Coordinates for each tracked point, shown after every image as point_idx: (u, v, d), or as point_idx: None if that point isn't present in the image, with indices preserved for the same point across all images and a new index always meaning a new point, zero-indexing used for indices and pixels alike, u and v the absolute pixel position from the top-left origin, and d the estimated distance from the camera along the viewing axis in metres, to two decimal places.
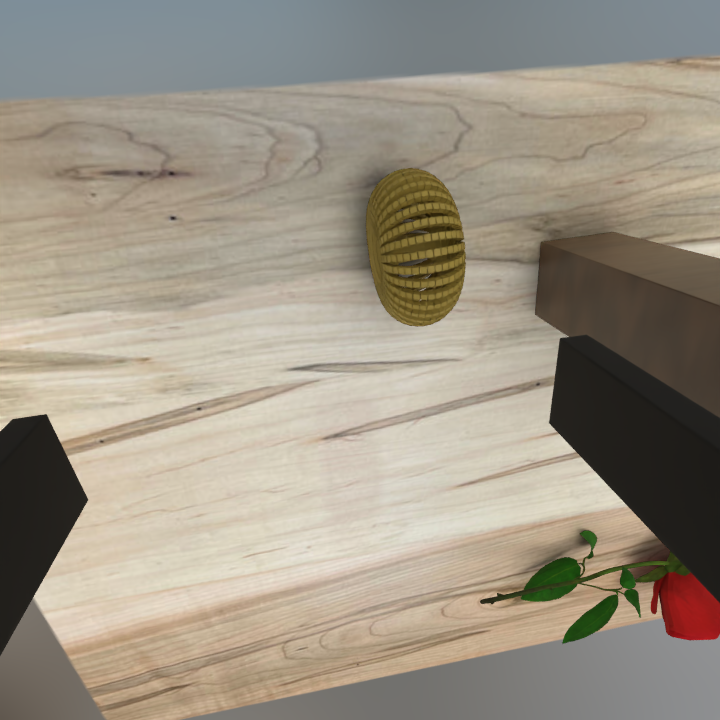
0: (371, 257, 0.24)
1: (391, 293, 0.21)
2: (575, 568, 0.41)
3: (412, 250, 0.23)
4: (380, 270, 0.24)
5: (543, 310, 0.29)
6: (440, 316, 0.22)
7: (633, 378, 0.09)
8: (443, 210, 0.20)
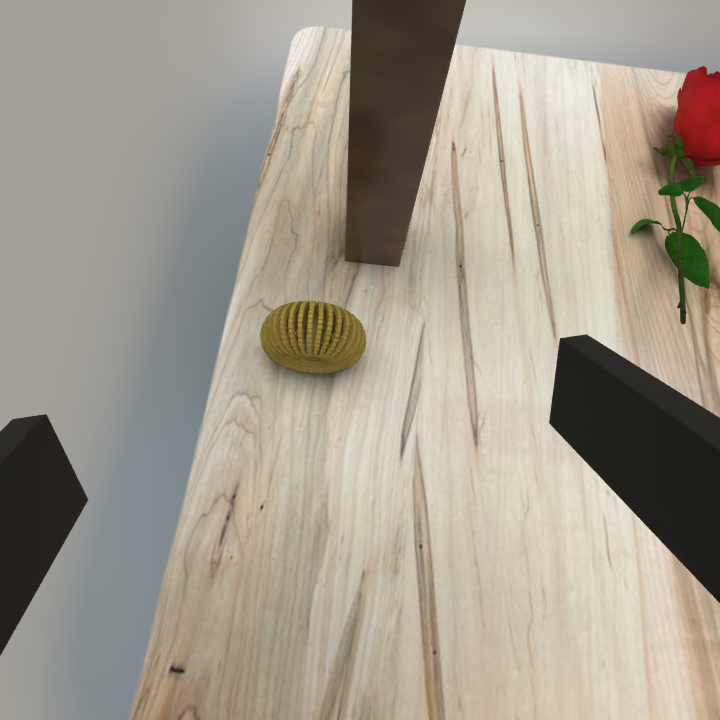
0: (317, 370, 0.34)
1: (327, 351, 0.31)
2: (673, 237, 0.41)
3: (312, 338, 0.33)
4: (323, 363, 0.33)
5: (393, 260, 0.39)
6: (352, 321, 0.31)
7: (633, 378, 0.09)
8: (281, 311, 0.31)
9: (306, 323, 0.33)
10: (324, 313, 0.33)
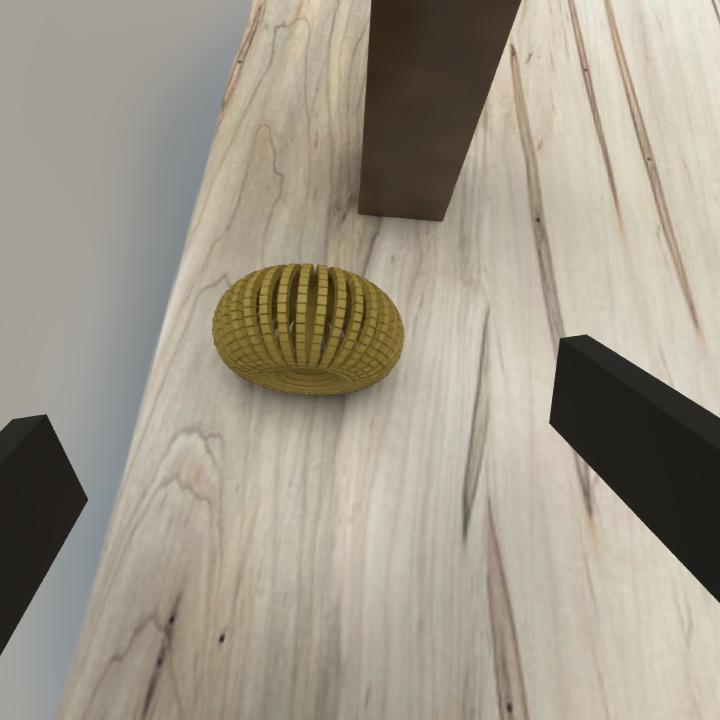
0: (317, 390, 0.20)
1: (337, 358, 0.16)
2: None
3: (307, 334, 0.18)
4: (328, 378, 0.19)
5: (435, 209, 0.25)
6: (382, 301, 0.17)
7: (633, 378, 0.09)
8: (246, 282, 0.16)
9: (296, 308, 0.19)
10: (328, 289, 0.18)
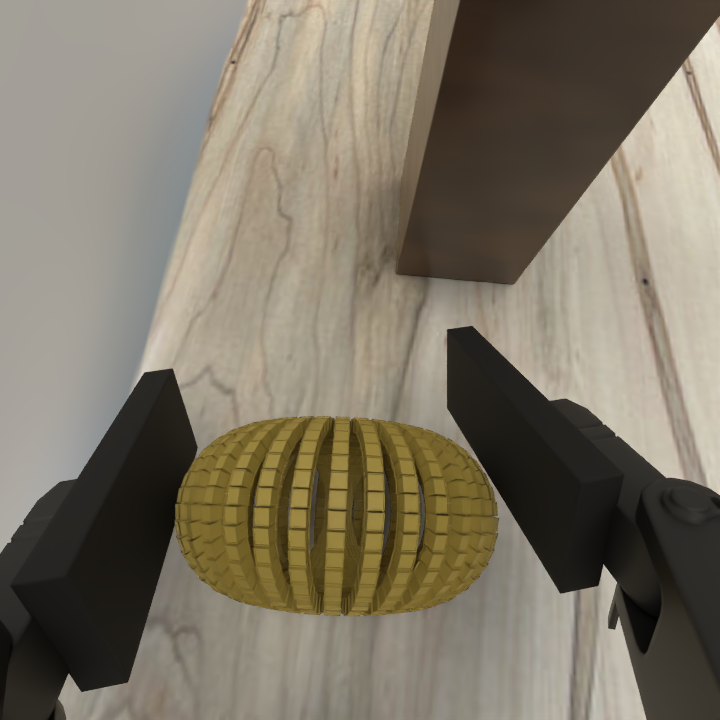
0: None
1: (397, 608, 0.09)
2: None
3: None
4: None
5: (506, 271, 0.18)
6: (475, 488, 0.09)
7: (491, 363, 0.11)
8: (231, 459, 0.09)
9: (317, 463, 0.12)
10: None
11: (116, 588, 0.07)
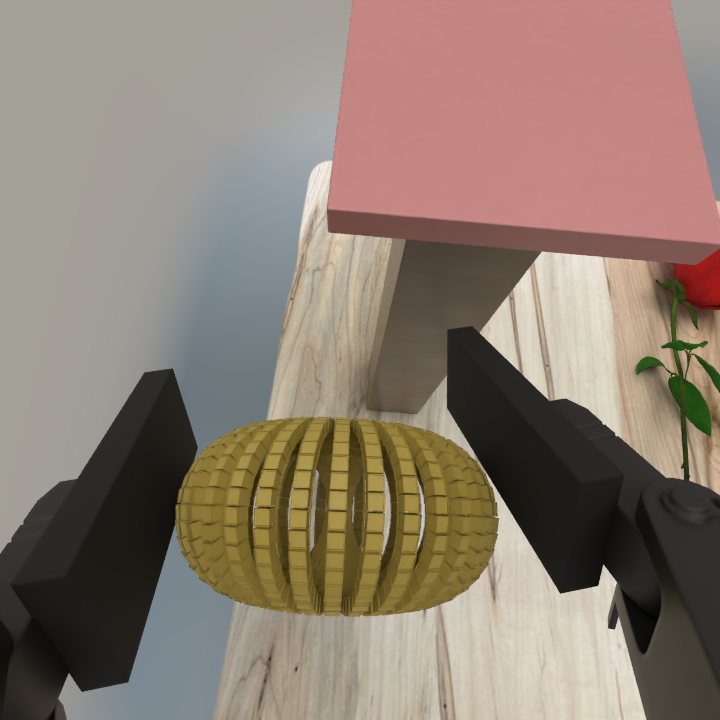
0: None
1: (398, 608, 0.09)
2: (676, 381, 0.43)
3: None
4: None
5: (412, 411, 0.42)
6: (475, 489, 0.09)
7: (490, 363, 0.11)
8: (232, 460, 0.09)
9: (317, 463, 0.12)
10: None
11: (116, 588, 0.07)
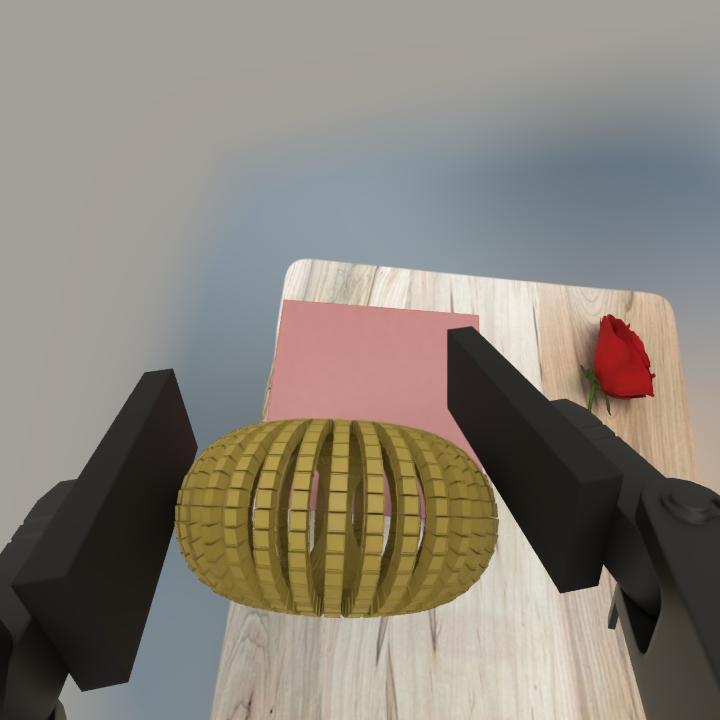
0: None
1: (397, 610, 0.09)
2: None
3: None
4: None
5: None
6: (475, 490, 0.09)
7: (490, 363, 0.11)
8: (231, 461, 0.09)
9: (317, 464, 0.12)
10: None
11: (116, 588, 0.07)
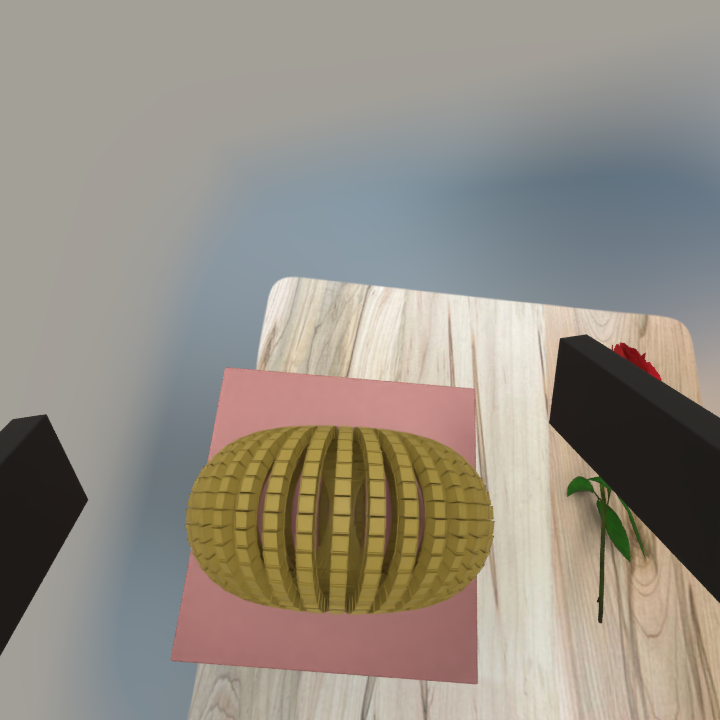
0: None
1: (398, 607, 0.09)
2: (602, 505, 0.47)
3: (338, 515, 0.12)
4: None
5: None
6: (471, 493, 0.10)
7: (633, 378, 0.09)
8: (241, 467, 0.10)
9: None
10: None
11: None
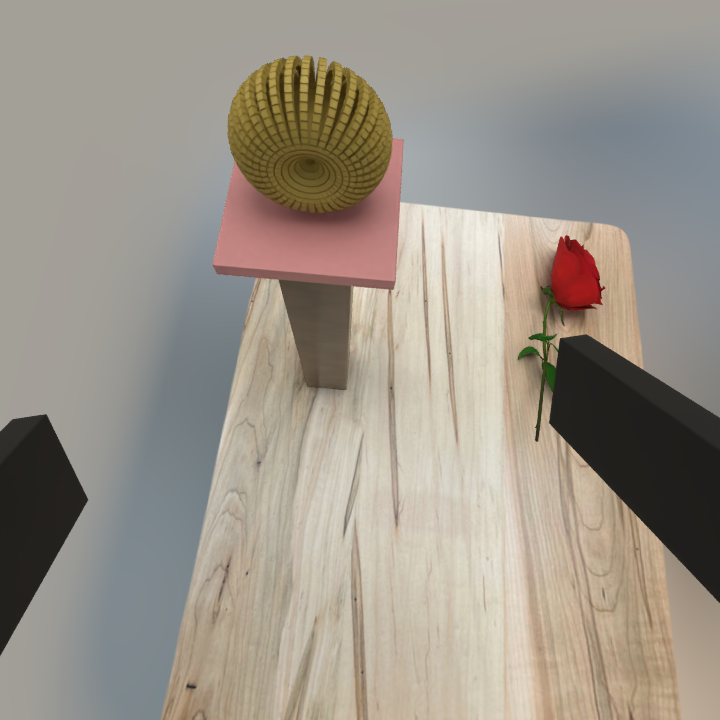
0: (318, 199, 0.23)
1: (334, 134, 0.19)
2: None
3: (309, 140, 0.21)
4: (327, 180, 0.22)
5: (341, 387, 0.55)
6: (373, 93, 0.19)
7: (633, 378, 0.09)
8: None
9: (300, 120, 0.22)
10: (327, 97, 0.21)
11: None
